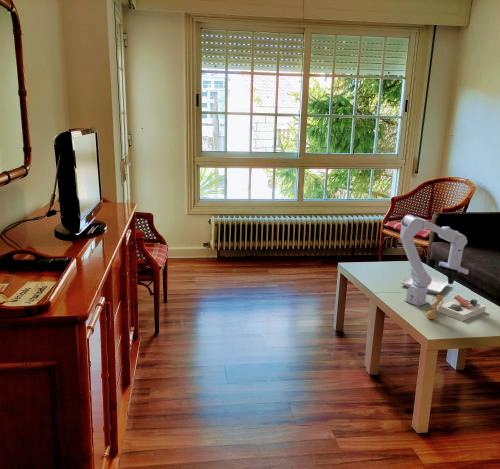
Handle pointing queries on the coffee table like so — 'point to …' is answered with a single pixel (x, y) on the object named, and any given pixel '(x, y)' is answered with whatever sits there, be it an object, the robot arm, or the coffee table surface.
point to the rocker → (463, 301)
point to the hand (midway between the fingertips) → (450, 283)
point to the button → (456, 307)
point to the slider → (473, 302)
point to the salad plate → (434, 287)
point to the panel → (464, 312)
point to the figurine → (431, 313)
